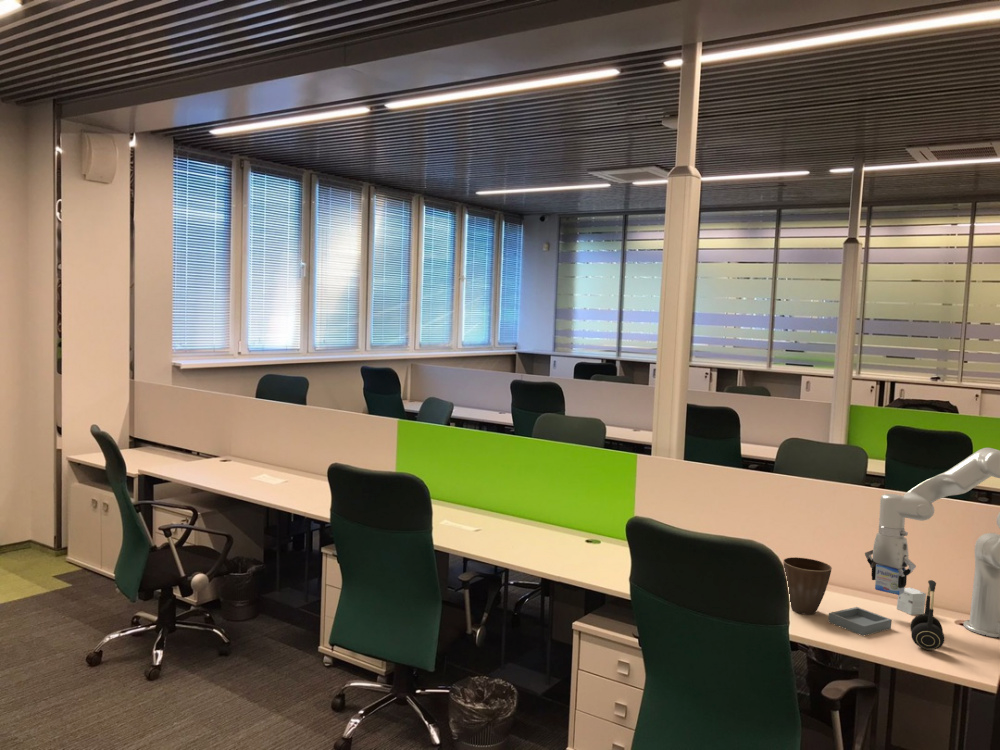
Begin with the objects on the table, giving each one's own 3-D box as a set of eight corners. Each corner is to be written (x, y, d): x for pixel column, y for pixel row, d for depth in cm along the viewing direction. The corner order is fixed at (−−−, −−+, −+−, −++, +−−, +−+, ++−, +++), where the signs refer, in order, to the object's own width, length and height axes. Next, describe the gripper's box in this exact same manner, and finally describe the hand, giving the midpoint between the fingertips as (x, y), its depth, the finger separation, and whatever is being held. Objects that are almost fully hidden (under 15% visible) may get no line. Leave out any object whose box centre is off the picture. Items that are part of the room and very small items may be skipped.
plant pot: (802, 621, 244) (806, 572, 243) (769, 604, 258) (773, 558, 257) (837, 617, 250) (842, 569, 249) (803, 601, 263) (807, 556, 263)
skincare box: (896, 608, 263) (898, 588, 262) (909, 607, 265) (911, 587, 264) (911, 615, 257) (913, 594, 257) (924, 614, 259) (926, 593, 259)
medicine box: (874, 589, 255) (875, 564, 255) (879, 587, 258) (880, 561, 258) (899, 595, 249) (900, 569, 249) (904, 592, 252) (905, 566, 252)
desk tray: (890, 628, 242) (891, 619, 242) (863, 635, 234) (863, 626, 234) (855, 615, 253) (856, 606, 252) (828, 622, 245) (829, 612, 244)
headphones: (940, 641, 234) (946, 577, 233) (944, 658, 221) (950, 590, 220) (908, 635, 238) (914, 572, 237) (910, 651, 225) (917, 584, 224)
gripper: (923, 536, 247) (920, 589, 248) (873, 524, 262) (870, 574, 262) (910, 539, 243) (907, 592, 244) (860, 527, 258) (857, 577, 258)
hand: (888, 583), depth 253 cm, fingers closed on medicine box, 8 cm apart
